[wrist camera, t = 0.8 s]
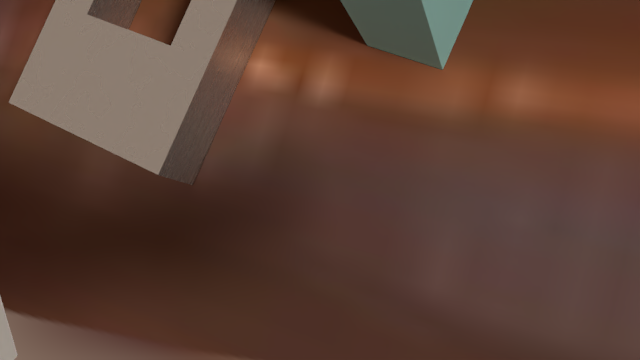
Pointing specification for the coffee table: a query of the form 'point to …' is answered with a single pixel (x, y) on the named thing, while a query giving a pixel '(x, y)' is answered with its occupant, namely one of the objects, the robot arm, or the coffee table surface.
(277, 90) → the coffee table surface
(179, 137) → the grey rectangular frame
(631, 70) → the coffee table surface
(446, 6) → the teal post
